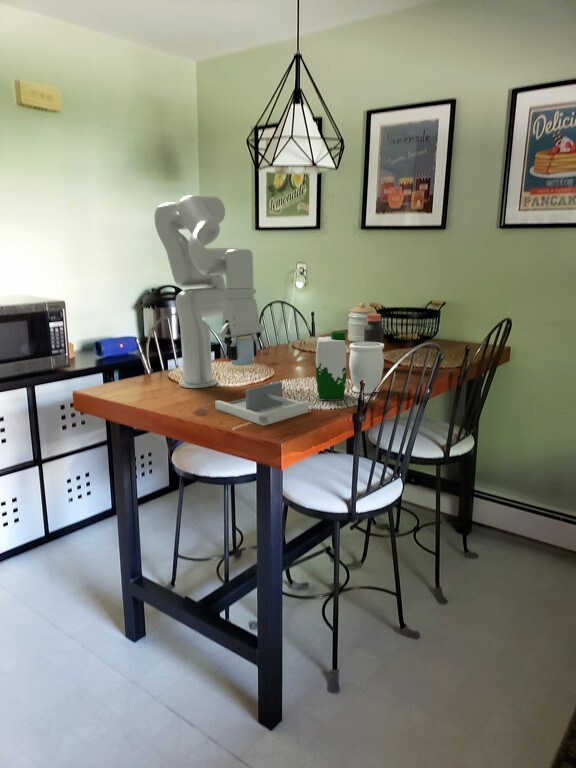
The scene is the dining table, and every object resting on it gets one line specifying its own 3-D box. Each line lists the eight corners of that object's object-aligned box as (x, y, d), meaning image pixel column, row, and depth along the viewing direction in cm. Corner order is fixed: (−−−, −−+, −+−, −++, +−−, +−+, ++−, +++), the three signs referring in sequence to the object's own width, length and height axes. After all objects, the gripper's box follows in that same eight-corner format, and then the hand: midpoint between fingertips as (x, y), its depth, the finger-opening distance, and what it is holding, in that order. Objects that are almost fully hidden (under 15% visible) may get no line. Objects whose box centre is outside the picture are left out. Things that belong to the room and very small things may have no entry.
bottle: (371, 365, 214) (372, 312, 209) (385, 368, 209) (387, 314, 204) (359, 368, 209) (360, 314, 204) (374, 371, 204) (376, 316, 199)
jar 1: (352, 343, 260) (353, 304, 256) (344, 338, 273) (344, 301, 268) (379, 341, 263) (380, 303, 258) (369, 337, 275) (370, 300, 271)
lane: (215, 409, 162) (214, 399, 161) (259, 397, 173) (259, 388, 172) (263, 425, 147) (263, 414, 146) (308, 412, 158) (308, 401, 157)
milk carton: (346, 401, 168) (347, 334, 163) (316, 401, 168) (316, 334, 163) (344, 393, 177) (345, 329, 172) (315, 393, 177) (315, 329, 172)
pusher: (246, 412, 155) (245, 389, 153) (279, 403, 163) (279, 381, 161) (268, 420, 148) (267, 396, 147) (302, 410, 157) (302, 387, 155)
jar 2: (379, 386, 184) (380, 340, 180) (385, 394, 174) (387, 346, 170) (346, 387, 184) (347, 341, 180) (351, 395, 174) (352, 347, 170)
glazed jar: (227, 363, 162) (225, 335, 160) (244, 359, 166) (243, 332, 164) (241, 366, 158) (239, 338, 156) (258, 362, 162) (257, 335, 160)
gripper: (255, 291, 166) (257, 351, 170) (206, 296, 154) (210, 360, 159) (272, 292, 160) (274, 355, 165) (223, 297, 149) (226, 364, 153)
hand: (242, 357), depth 162 cm, fingers closed on glazed jar, 6 cm apart
